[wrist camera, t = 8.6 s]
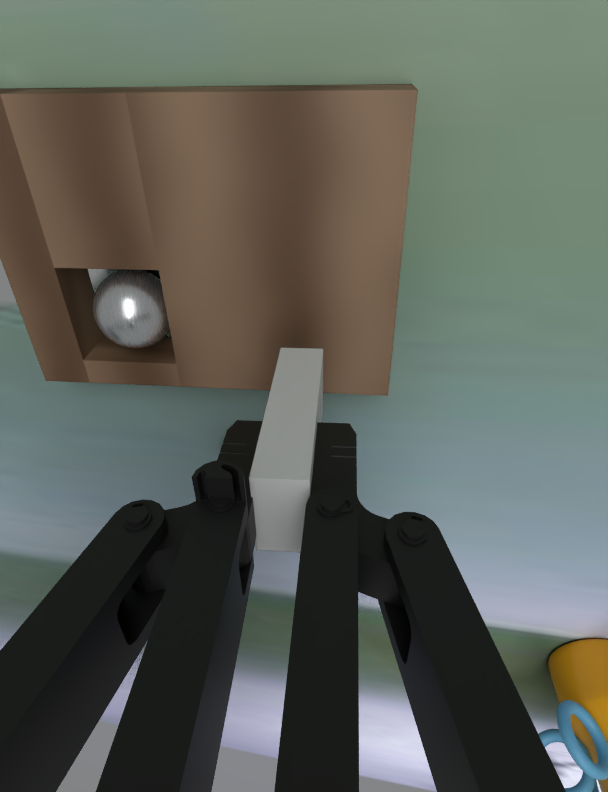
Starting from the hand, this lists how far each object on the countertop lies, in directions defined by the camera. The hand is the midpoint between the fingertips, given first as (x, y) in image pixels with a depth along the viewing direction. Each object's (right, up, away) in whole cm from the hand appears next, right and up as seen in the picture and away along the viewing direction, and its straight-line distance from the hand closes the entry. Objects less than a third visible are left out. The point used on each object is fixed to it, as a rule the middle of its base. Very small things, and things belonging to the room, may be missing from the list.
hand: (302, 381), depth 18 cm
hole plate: (-4, +6, +4) cm, 9 cm away
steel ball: (-8, +3, +4) cm, 9 cm away
